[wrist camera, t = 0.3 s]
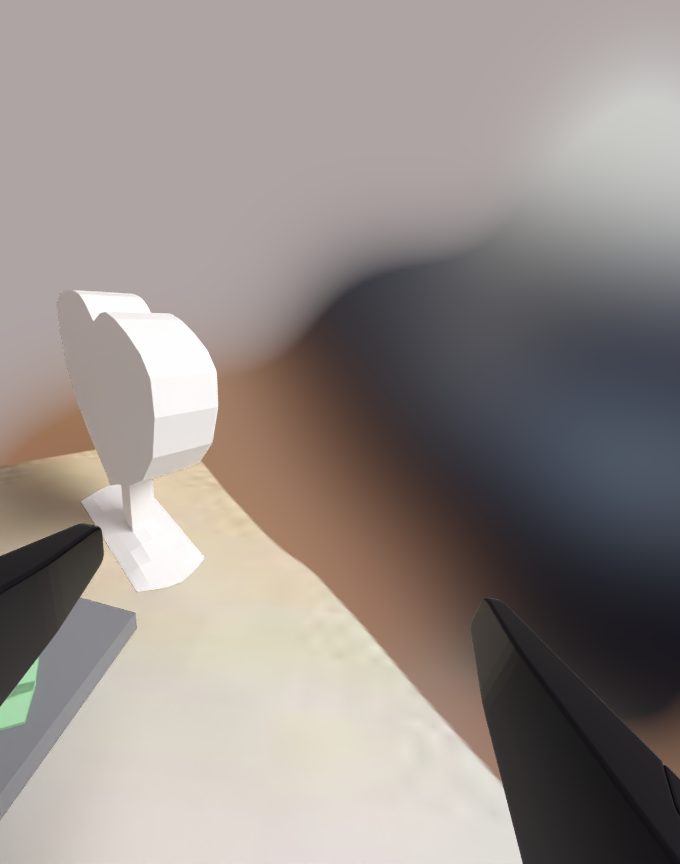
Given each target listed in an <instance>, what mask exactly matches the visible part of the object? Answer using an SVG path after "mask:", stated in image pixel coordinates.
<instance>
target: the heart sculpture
mask: <svg viewBox="0 0 680 864" xmlns="http://www.w3.org/2000/svg"><path fill="white" fill-rule="evenodd" d="M57 307H58V318H59V327H60V334H61V339H62V344H63V349H64V355H65V359H66V365H67V369H68V372H69V376H70V379H71V382H72V386H73V390H74V393H75V396H76V400H77V403H78V406H79V408H80V411H81V414H82V416H83V419H84V421H85V424H86V427H87V429H88V432H89V435H90V437H91V439H92V442H93V444H94V446H95V449H96V451H97V453H98V455H99V458H100V460H101V462H102V465H103V467H104V469H105V472H106V474H107V477H108V479H109V482H110V484H111V486H107V487H105V488H103V489H100V490H98V491H97V492H95V493H93V494H91V495H90V496H88V497H87V498H85V499H84V500H82V501H81V503H82V504H83V506H84V508H85V509H86V511H87V512H88V514H89V516H90V517H91V519H92V521H93V522H94V524H95V525H96V526H99V527H100V528H101V529H102V535H103V538H104V540H105V541H106V543H107V545H108V546H109V548H110V549H111V551H112V553H113V554H114V556H115V557H116V559H117V561H118V562H119V564H120V566H121V567H122V569H123V570H124V572H125V574H126V575H127V577H128V578H129V580H130V582H131V583H132V585H133V586H134V588H135V590H136V591H137V592H140V591H148V590H155V589H160V588H165V587H169V586H172V585H175V584H178V583H180V582H182V581H183V580H184V579H185V578H187V577H188V576H189V575H190V574H191V573H192V572H193V571H194V570H195V569H196V568H197V567H198V566H199V564H200V563H201V562H202V560H203V559H204V558H205V557H204V556H203V555H202V554H201V552H200V551H199V550H198V549H197V548H196V546H195V545H194V544H193V543H192V542H191V541H190V539H189V538H188V537H187V536H186V535H185V533H184V532H183V531H182V530H181V529H180V527H179V526H178V525H177V524H176V523H175V521H174V520H173V519H172V518H171V517H170V515H169V514H168V513H167V512H166V511H165V509H164V508H163V507H162V506H161V505H160V503H159V502H158V501H157V500H156V499H155V498H154V493H153V479H154V478H158V477H161V476H164V475H168V474H171V473H174V472H178V471H181V470H184V469H187V468H189V467H192V466H194V465H197V464H199V462H200V461H201V459H202V458H203V456H204V455H205V453H206V452H207V450H208V449H209V447H210V446H211V444H212V441H213V436H214V429H215V423H216V417H217V410H218V390H217V371H216V369H215V367H214V364H213V362H212V360H211V358H210V355H209V353H208V351H207V350H206V348H205V347H204V345H203V344H202V343H201V342H200V340H199V339H198V338H197V336H196V335H195V334H194V333H193V332H192V331H191V330H190V329H189V328H188V327H187V326H186V325H185V324H184V323H183V322H182V321H181V320H180V319H178V318H177V317H175V316H173V315H172V314H165V313H151V312H150V310H149V308H148V306H147V305H146V304H145V302H144V301H143V300H142V298H141V297H139V296H137V295H134V294H126V293H111V292H94V291H79V290H65V291H63V292H61V293H60V294H59V298H58V301H57Z"/></svg>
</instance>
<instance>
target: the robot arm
mask: <svg viewBox="0 0 680 864" xmlns="http://www.w3.org/2000/svg"><path fill="white" fill-rule="evenodd" d="M103 556H104V549H103V535H102V529H101V528H100V527H99V526H95V525H90V524H78V525H75V526H72V527H70V528H68V529H65V530H63V531H60V532H58V533H55V534H53V535H51V536H48V537H46V538H43V539H41V540H38V541H36V542H34V543H31V544H29V545H26V546H24V547H21V548H19V549H17V550H14V551H12V552H9V553H7V554H4V555H2V556H0V707H1V705H2V704H3V703H4V701H5V700H6V699H7V697H8V696H9V695H10V694H11V692H12V691H13V690H14V688H15V687H16V686H17V684H18V683H19V682H20V681H21V679H22V678H23V677H24V675H25V674H26V673H27V671H28V670H29V669H30V668H31V666H32V665H33V664H34V662H35V661H36V660H37V658H38V657H39V656H40V655H41V653H42V652H43V651H44V649H45V648H46V647H47V645H48V644H49V643H50V641H51V640H52V639H53V637H54V636H55V635H56V633H57V632H58V631H59V629H60V628H61V626H62V625H63V623H64V622H65V620H66V619H67V617H68V615H69V614H70V612H71V611H72V609H73V608H74V606H75V604H76V603H77V601H78V600H79V598H80V596H81V595H82V593H83V592H84V590H85V589H86V587H87V585H88V584H89V582H90V581H91V579H92V577H93V576H94V574H95V573H96V571H97V570H98V568H99V566H100V565H101V563H102V560H103ZM471 637H472V643H473V650H474V655H475V662H476V669H477V675H478V681H479V688H480V693H481V698H482V704H483V708H484V712H485V716H486V721H487V724H488V728H489V732H490V736H491V740H492V744H493V748H494V752H495V756H496V760H497V763H498V768H499V772H500V776H501V780H502V783H503V787H504V791H505V795H506V799H507V803H508V807H509V811H510V815H511V819H512V823H513V827H514V831H515V835H516V839H517V843H518V846H519V850H520V854H521V858H522V862H523V864H680V779H679V778H678V777H677V776H676V775H675V774H674V773H673V772H672V771H671V770H670V769H669V768H668V767H667V766H666V765H663V763H662V761H661V760H660V759H659V758H658V757H657V756H656V755H655V754H654V753H653V752H652V751H651V750H650V749H649V748H648V747H647V746H646V745H645V744H644V743H643V742H642V741H641V740H640V739H639V738H638V737H637V736H636V735H635V734H634V733H633V732H632V731H631V730H630V729H629V728H628V727H627V726H626V725H625V724H624V723H623V722H622V721H621V720H620V719H619V718H618V717H617V716H616V715H615V714H614V713H613V712H612V711H611V710H610V709H609V708H608V707H607V705H606V704H605V703H604V702H603V701H602V700H601V699H600V698H598V696H597V695H596V694H595V693H594V692H593V691H592V690H591V689H589V687H587V686H586V684H584V683H583V681H581V679H579V677H578V676H577V675H576V674H575V673H574V672H573V671H571V669H570V668H569V667H568V666H567V665H566V664H565V663H564V662H563V661H562V660H561V659H559V657H558V656H557V655H556V654H555V653H554V652H553V651H552V650H551V649H550V648H549V647H548V646H547V645H546V644H545V643H544V642H543V641H542V640H541V639H540V638H539V637H538V636H537V635H536V634H535V633H534V632H533V631H532V630H531V629H530V628H529V627H528V626H527V625H526V624H525V623H524V622H523V621H522V620H521V619H520V618H519V617H518V616H517V615H516V614H515V613H514V612H513V611H512V610H511V609H510V608H509V607H508V606H507V605H505V603H504V602H502V601H500V600H496V599H491V598H484V599H483V600H482V601H481V603H480V605H479V607H478V609H477V611H476V613H475V615H474V617H473V619H472V621H471Z"/></svg>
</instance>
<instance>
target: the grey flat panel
mask: <svg viewBox="0 0 680 864" xmlns="http://www.w3.org/2000/svg"><path fill="white" fill-rule="evenodd" d="M136 629H137V625H136V613H134V612H131V611H127V610H124V609H120V608H116V607H113V606H109V605H105V604H102V603H98V602H94V601H91V600H87V599H83V598H79V600H78V601H77V603H76V604H75V606H74V608H73V609H72V611H71V612H70V614H69V615H68V617H67V619H66V620H65V622H64V623H63V625H62V626H61V628H60V629H59V631H58V632H57V633H56V635H55V636H54V637H53V639H52V640H51V641H50V643H49V644H48V645H47V647H46V648H45V649H44V651H43V652H42V653H41V655H40V656H39V657H38V658H37V660H36V661H35V662H34V664H33V665H32V666H31V668H30V669H29V670H28V671H27V673H26V674H25V675H24V677H23V678H22V679H21V681H20V682H19V683H18V684H17V686H16V687H15V688H14V690H13V691H12V692H11V694H10V695H9V696H8V697H7V699H6V700H5V701H4V703H3V704H2V705H1V707H0V820H1V818H2V817H3V815H4V814H5V813H6V811H7V810H8V808H9V807H10V806H11V804H12V803H13V801H14V800H15V799H16V797H17V796H18V794H19V793H20V792H21V790H22V789H23V787H24V786H25V785H26V783H27V782H28V780H29V779H30V777H31V776H32V775H33V773H34V772H35V770H36V769H37V768H38V766H39V765H40V763H41V762H42V761H43V759H44V758H45V756H46V755H47V754H48V752H49V751H50V749H51V748H52V747H53V745H54V744H55V742H56V741H57V740H58V738H59V737H60V735H61V734H62V733H63V731H64V730H65V728H66V727H67V726H68V724H69V723H70V721H71V720H72V718H73V717H74V716H75V714H76V713H77V711H78V710H79V709H80V707H81V706H82V704H83V703H84V702H85V700H86V699H87V697H88V696H89V695H90V693H91V692H92V690H93V689H94V688H95V686H96V685H97V683H98V682H99V681H100V679H101V678H102V676H103V675H104V674H105V672H106V671H107V669H108V668H109V667H110V665H111V664H112V662H113V661H114V659H115V658H116V657H117V655H118V654H119V652H120V651H121V650H122V648H123V647H124V645H125V644H126V643H127V641H128V640H129V638H130V637H131V636H132V634H133V633H134V631H135V630H136Z"/></svg>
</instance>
